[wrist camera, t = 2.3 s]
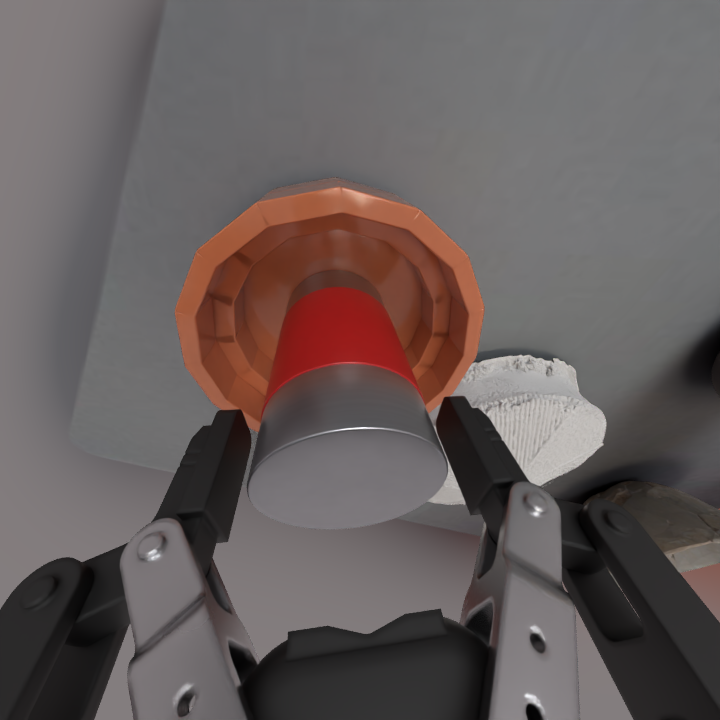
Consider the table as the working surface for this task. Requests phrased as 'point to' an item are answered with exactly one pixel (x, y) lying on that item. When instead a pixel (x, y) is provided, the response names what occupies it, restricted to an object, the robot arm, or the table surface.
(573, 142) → the table surface
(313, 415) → the can
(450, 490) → the white round slab
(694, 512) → the ceramic bowl
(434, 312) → the dish
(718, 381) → the vase
